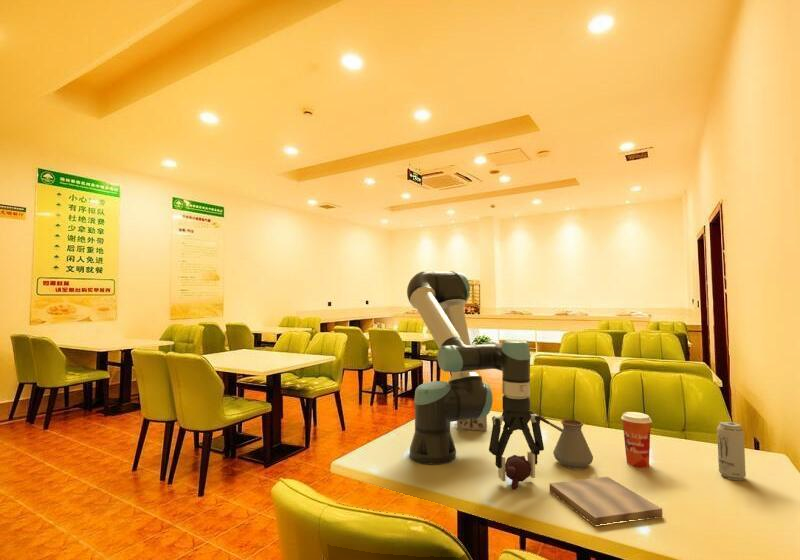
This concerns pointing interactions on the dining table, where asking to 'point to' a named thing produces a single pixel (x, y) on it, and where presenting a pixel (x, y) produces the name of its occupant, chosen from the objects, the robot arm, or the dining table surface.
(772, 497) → the dining table surface
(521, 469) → the icecream
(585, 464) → the coffee pot
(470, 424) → the decorative jar
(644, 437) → the coffee cup
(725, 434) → the energy drink can
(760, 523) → the dining table surface
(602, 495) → the serving board
